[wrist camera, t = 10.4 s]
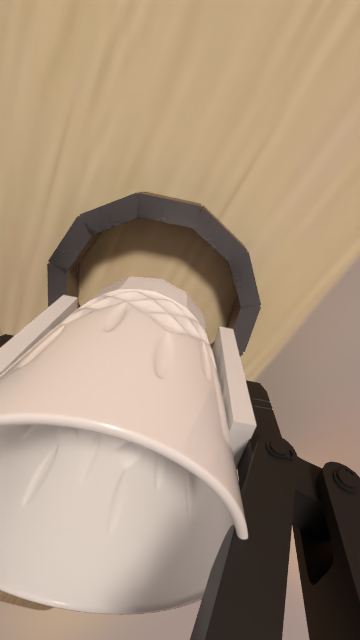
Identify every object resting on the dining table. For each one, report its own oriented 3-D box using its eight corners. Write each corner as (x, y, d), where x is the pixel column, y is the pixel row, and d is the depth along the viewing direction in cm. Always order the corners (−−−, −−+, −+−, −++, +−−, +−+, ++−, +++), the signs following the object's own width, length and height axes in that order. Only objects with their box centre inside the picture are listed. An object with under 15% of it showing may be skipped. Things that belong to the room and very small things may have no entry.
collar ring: (222, 388, 23) (225, 405, 21) (61, 357, 22) (49, 373, 21) (280, 221, 17) (290, 225, 15) (61, 173, 16) (45, 172, 15)
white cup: (46, 316, 15) (-168, 507, 6) (158, 230, 13) (73, 338, 4) (137, 407, 18) (78, 633, 9) (244, 350, 16) (310, 577, 7)
